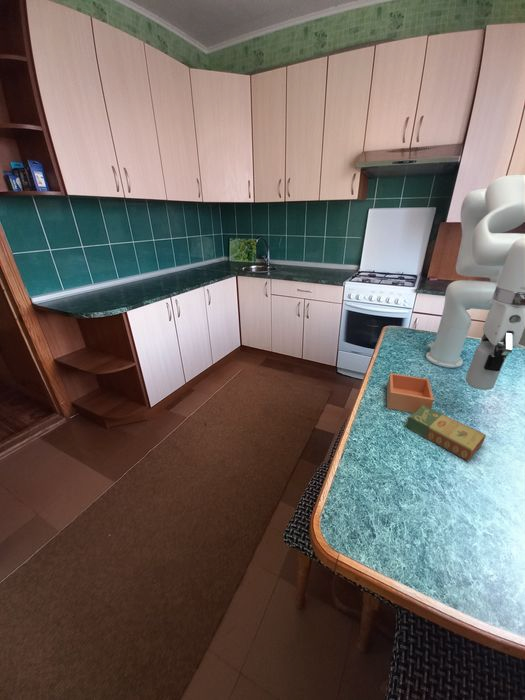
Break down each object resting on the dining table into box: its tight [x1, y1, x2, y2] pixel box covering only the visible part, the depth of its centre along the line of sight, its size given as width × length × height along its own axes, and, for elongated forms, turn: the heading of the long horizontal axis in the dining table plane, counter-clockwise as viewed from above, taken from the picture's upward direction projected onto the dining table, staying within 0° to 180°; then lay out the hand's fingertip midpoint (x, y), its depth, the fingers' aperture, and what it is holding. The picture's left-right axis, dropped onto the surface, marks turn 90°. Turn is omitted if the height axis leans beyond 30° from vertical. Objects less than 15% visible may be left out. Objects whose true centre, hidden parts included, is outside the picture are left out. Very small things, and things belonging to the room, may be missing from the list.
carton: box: [406, 405, 486, 462], centre depth 77 cm, size 8×16×4 cm, turn 37°
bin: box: [386, 372, 435, 414], centre depth 91 cm, size 12×12×6 cm
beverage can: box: [464, 341, 507, 391], centre depth 76 cm, size 6×6×12 cm
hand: (487, 362), depth 75 cm, fingers closed on beverage can, 6 cm apart
